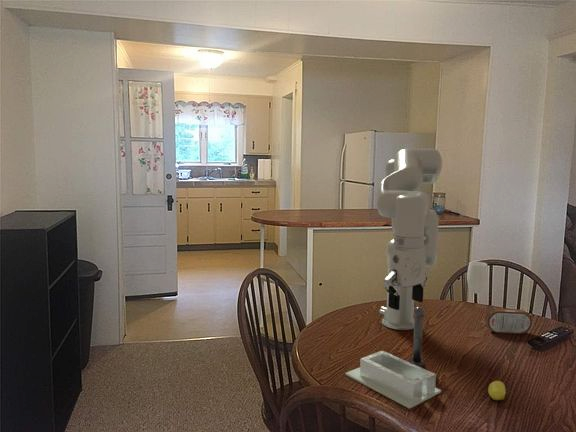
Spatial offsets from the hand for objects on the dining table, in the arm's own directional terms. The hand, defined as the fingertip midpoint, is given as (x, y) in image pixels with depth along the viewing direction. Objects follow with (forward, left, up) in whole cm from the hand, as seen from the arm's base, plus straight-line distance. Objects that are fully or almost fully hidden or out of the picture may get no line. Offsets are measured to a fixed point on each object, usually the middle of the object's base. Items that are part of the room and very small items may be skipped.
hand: (405, 304), depth 125 cm
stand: (-4, +12, -22) cm, 25 cm away
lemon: (+20, +13, -22) cm, 32 cm away
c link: (0, -3, -21) cm, 21 cm away
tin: (0, +58, -22) cm, 62 cm away
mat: (-1, -3, -22) cm, 22 cm away
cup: (-16, +64, -22) cm, 69 cm away
